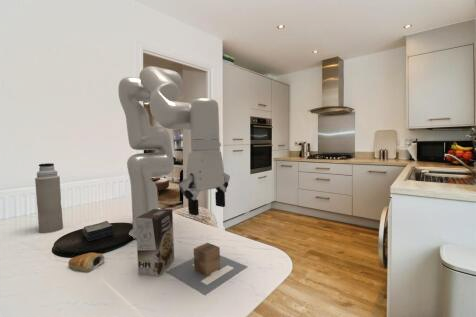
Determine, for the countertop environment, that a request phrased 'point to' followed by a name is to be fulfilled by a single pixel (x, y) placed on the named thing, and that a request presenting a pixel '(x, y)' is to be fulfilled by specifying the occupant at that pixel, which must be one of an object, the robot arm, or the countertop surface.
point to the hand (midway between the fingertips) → (207, 210)
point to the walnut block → (206, 259)
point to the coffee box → (155, 242)
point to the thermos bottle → (48, 199)
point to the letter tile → (203, 282)
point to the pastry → (86, 262)
